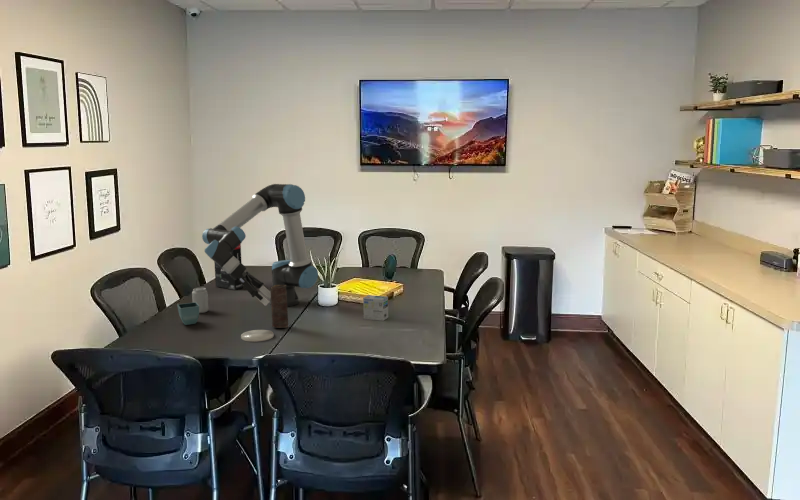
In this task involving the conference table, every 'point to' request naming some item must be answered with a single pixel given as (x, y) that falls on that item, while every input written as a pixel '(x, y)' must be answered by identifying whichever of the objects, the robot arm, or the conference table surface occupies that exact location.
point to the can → (201, 299)
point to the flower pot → (188, 312)
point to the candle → (279, 306)
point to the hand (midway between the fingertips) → (269, 300)
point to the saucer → (257, 335)
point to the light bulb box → (375, 307)
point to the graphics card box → (228, 274)
